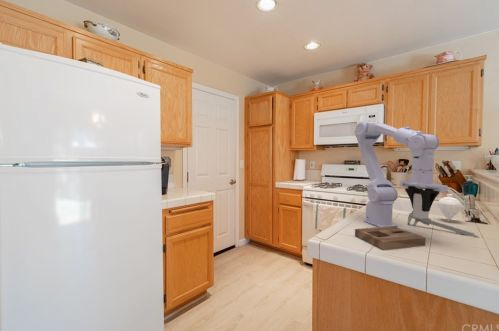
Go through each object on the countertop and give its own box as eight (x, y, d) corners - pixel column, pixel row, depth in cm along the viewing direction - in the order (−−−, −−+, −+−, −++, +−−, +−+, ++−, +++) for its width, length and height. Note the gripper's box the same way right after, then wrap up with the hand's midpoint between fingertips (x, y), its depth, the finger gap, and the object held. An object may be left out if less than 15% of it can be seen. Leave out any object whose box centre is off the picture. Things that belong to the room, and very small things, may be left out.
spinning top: (466, 224, 91) (467, 195, 91) (448, 224, 91) (449, 195, 91) (449, 219, 99) (450, 192, 99) (432, 219, 99) (433, 192, 98)
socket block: (354, 236, 77) (355, 228, 77) (392, 232, 81) (392, 225, 81) (383, 250, 66) (383, 241, 65) (425, 245, 69) (425, 237, 69)
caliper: (407, 225, 90) (408, 210, 90) (408, 225, 91) (408, 209, 91) (479, 238, 76) (480, 220, 76) (479, 237, 77) (480, 219, 77)
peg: (412, 216, 76) (413, 193, 76) (419, 215, 77) (420, 192, 76) (421, 218, 73) (422, 194, 73) (428, 218, 74) (429, 194, 73)
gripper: (393, 168, 80) (392, 205, 81) (435, 171, 66) (434, 216, 67) (409, 168, 82) (408, 204, 82) (453, 171, 68) (451, 215, 68)
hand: (420, 210), depth 75 cm, fingers closed on peg, 3 cm apart
